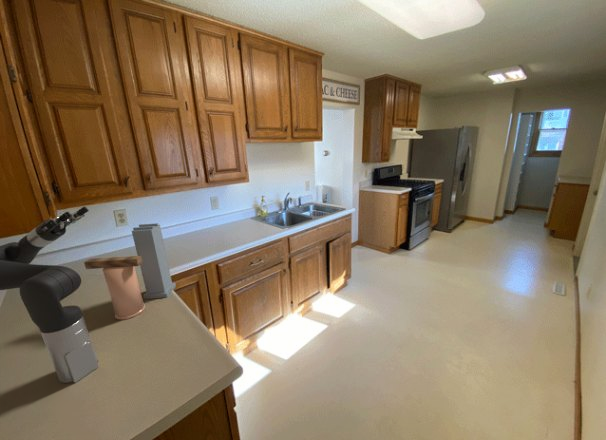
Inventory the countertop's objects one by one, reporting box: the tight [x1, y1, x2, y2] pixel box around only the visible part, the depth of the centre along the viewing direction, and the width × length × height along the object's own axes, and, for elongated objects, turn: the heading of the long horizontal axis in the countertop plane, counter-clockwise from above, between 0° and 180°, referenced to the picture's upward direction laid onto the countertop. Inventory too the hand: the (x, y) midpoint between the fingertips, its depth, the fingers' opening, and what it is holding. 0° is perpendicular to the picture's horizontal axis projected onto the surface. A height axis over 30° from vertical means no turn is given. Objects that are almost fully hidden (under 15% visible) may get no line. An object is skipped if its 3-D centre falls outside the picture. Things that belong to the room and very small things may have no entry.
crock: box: [102, 266, 146, 321], centre depth 103 cm, size 11×11×21 cm
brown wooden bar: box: [83, 255, 143, 270], centre depth 100 cm, size 20×3×3 cm, turn 92°
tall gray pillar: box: [131, 223, 177, 300], centre depth 116 cm, size 10×10×33 cm
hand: (78, 211), depth 98 cm, fingers open, 8 cm apart
